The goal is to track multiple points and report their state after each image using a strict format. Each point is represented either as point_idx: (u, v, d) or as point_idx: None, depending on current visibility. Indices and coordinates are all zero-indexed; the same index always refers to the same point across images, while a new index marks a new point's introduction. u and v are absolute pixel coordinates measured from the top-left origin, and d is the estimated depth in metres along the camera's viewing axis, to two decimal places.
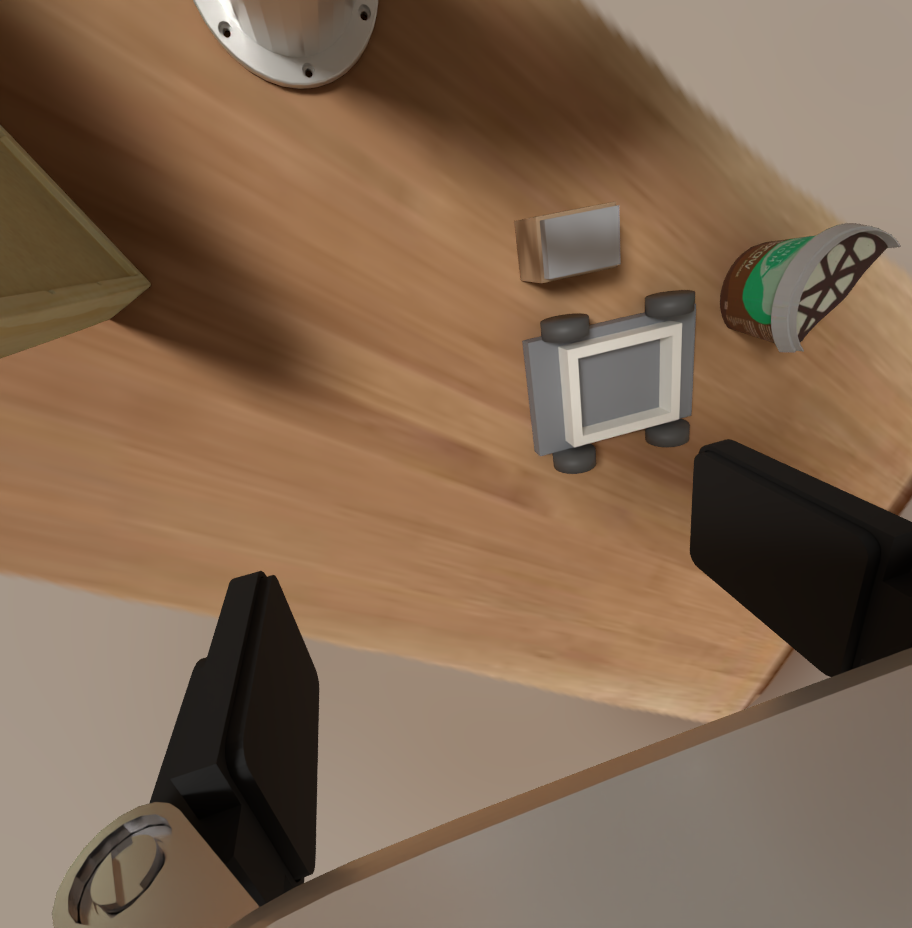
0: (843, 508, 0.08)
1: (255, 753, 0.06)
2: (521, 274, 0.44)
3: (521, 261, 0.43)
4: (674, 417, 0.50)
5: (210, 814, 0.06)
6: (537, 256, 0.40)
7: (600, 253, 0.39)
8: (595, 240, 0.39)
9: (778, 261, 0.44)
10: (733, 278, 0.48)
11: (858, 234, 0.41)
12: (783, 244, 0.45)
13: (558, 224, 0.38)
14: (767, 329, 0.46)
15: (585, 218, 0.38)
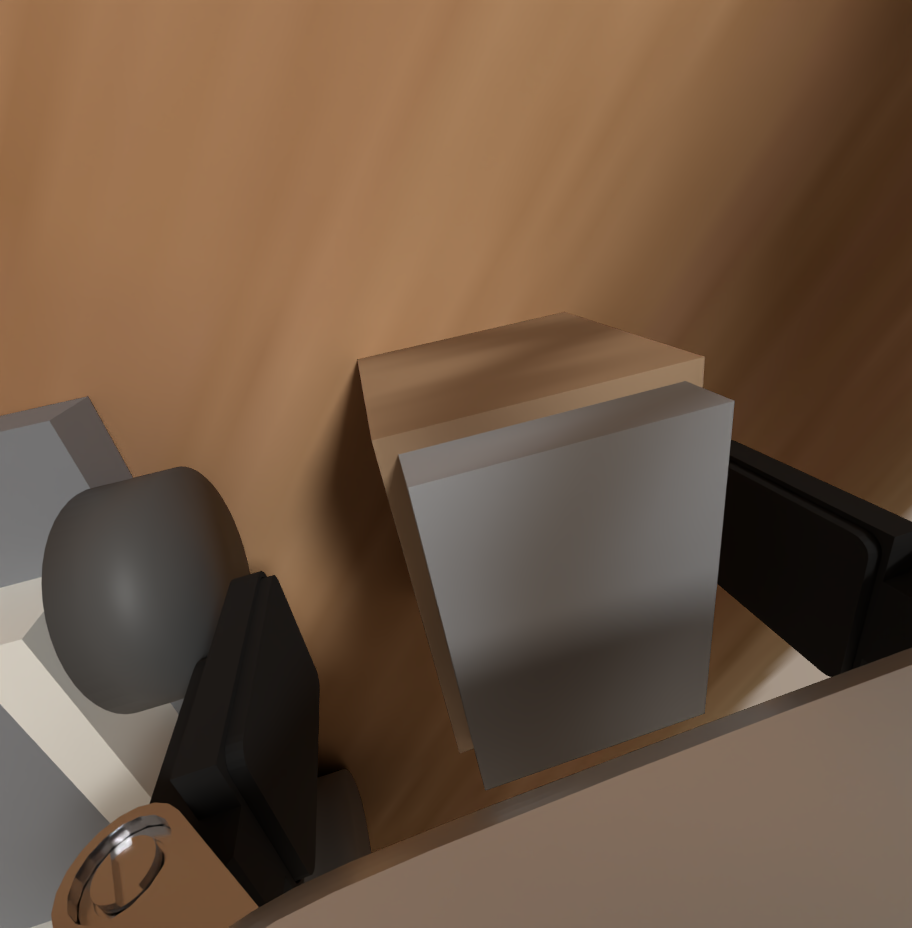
0: (843, 508, 0.08)
1: (255, 754, 0.06)
2: (382, 357, 0.11)
3: (435, 349, 0.10)
4: None
5: (209, 815, 0.06)
6: (508, 395, 0.07)
7: (534, 706, 0.08)
8: (592, 671, 0.08)
9: None
10: None
11: None
12: None
13: (694, 484, 0.07)
14: None
15: (689, 606, 0.08)
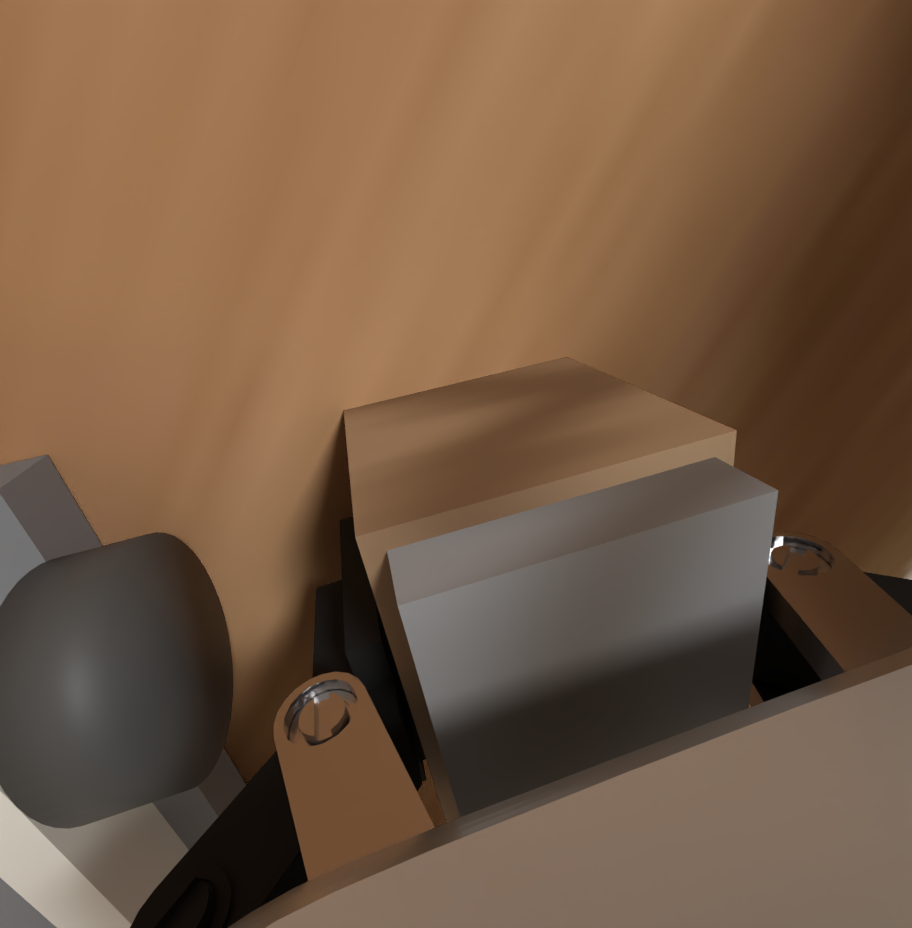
0: None
1: None
2: (370, 410, 0.10)
3: (429, 402, 0.09)
4: None
5: (370, 687, 0.07)
6: (513, 475, 0.06)
7: None
8: None
9: None
10: None
11: None
12: None
13: (730, 581, 0.06)
14: None
15: (721, 707, 0.07)
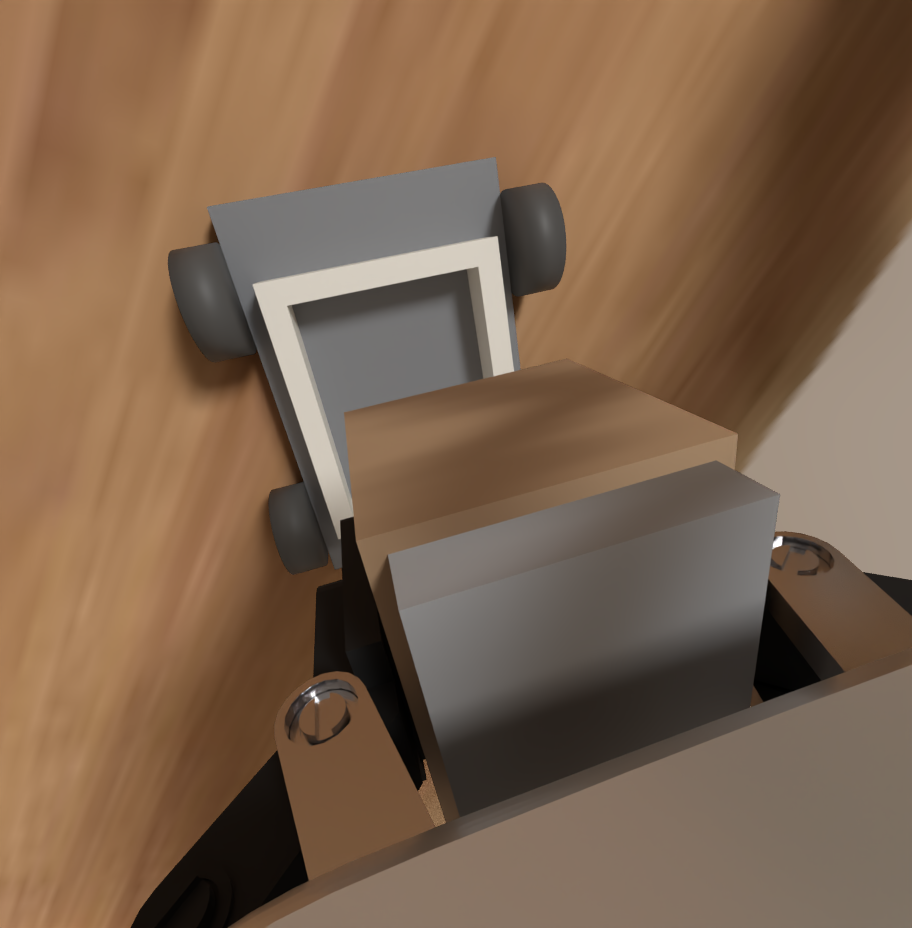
0: None
1: None
2: (371, 413, 0.10)
3: (430, 404, 0.09)
4: None
5: (370, 686, 0.07)
6: (514, 478, 0.06)
7: None
8: None
9: None
10: None
11: None
12: None
13: (731, 585, 0.06)
14: None
15: (722, 711, 0.07)
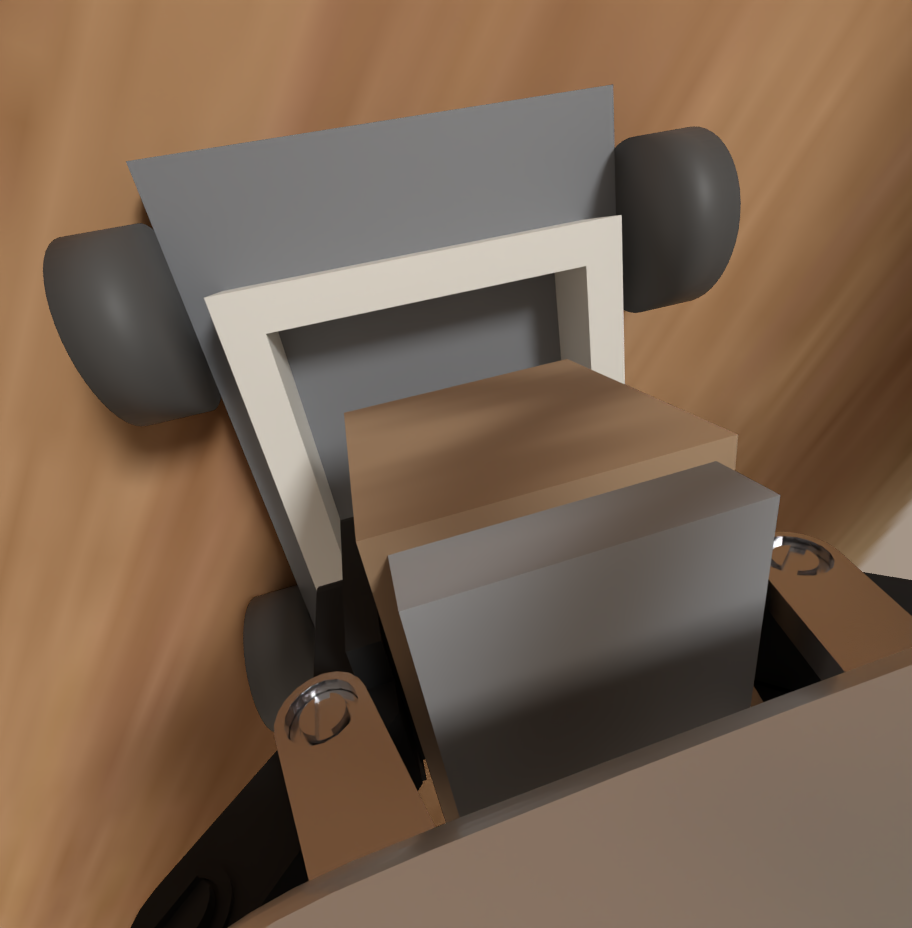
0: None
1: None
2: (371, 413, 0.10)
3: (430, 404, 0.09)
4: None
5: (370, 687, 0.07)
6: (515, 478, 0.06)
7: None
8: None
9: None
10: None
11: None
12: None
13: (732, 586, 0.06)
14: None
15: (722, 711, 0.07)
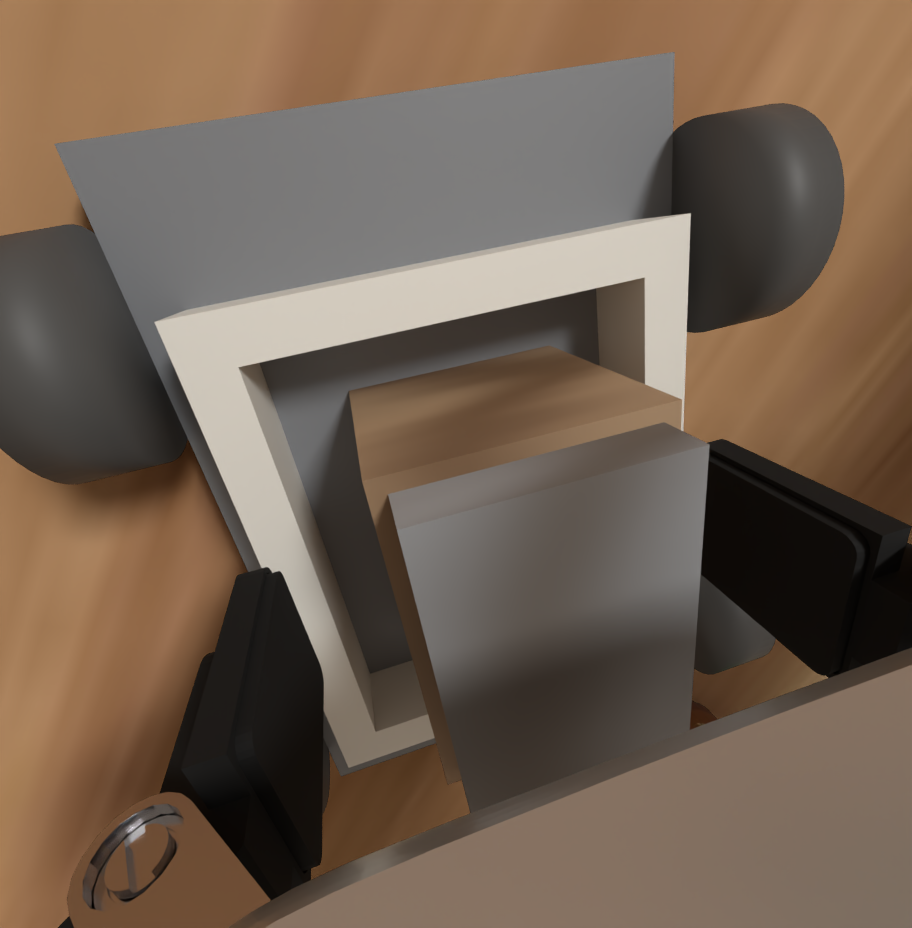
0: (833, 507, 0.08)
1: (263, 745, 0.06)
2: (373, 390, 0.11)
3: (425, 383, 0.11)
4: (353, 750, 0.13)
5: (219, 804, 0.06)
6: (494, 435, 0.07)
7: (521, 739, 0.08)
8: (577, 703, 0.08)
9: None
10: (690, 720, 0.20)
11: None
12: None
13: (673, 522, 0.07)
14: None
15: (671, 638, 0.08)
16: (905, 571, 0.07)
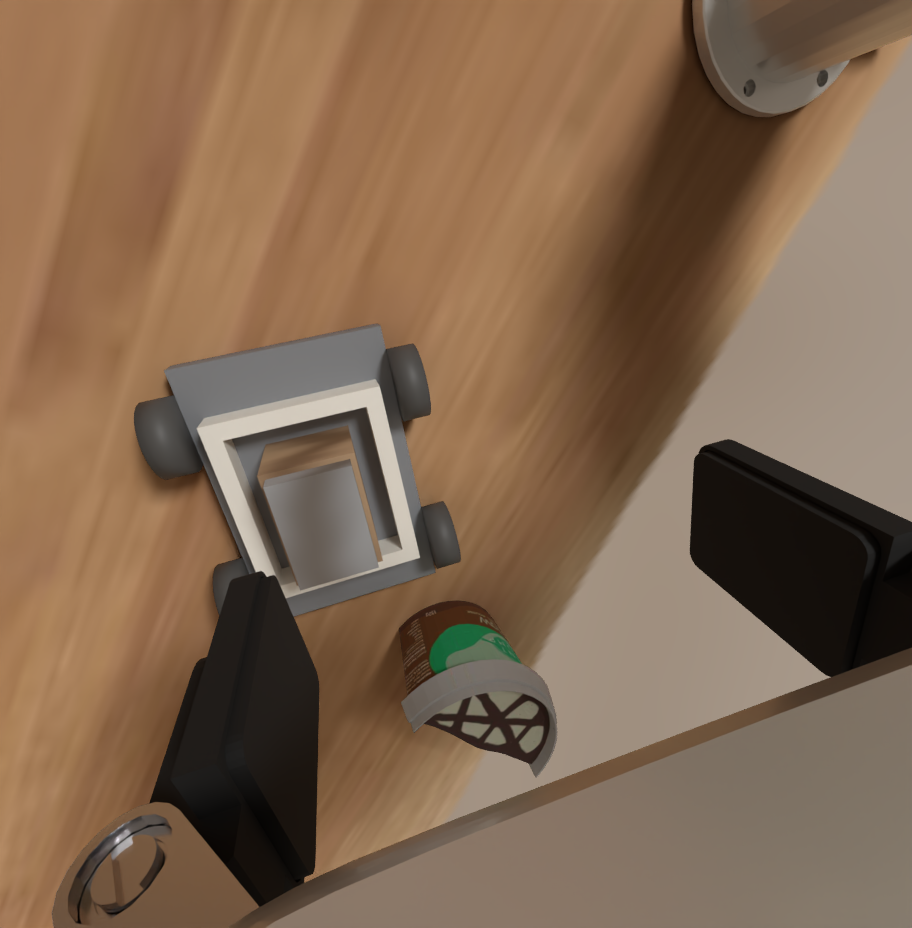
0: (843, 508, 0.08)
1: (255, 753, 0.06)
2: (274, 445, 0.29)
3: (293, 442, 0.28)
4: None
5: (210, 814, 0.06)
6: (298, 463, 0.25)
7: (312, 557, 0.26)
8: (329, 546, 0.26)
9: (502, 649, 0.34)
10: (463, 609, 0.38)
11: (547, 724, 0.33)
12: (512, 649, 0.37)
13: (346, 487, 0.25)
14: (424, 673, 0.32)
15: (358, 525, 0.26)
16: None
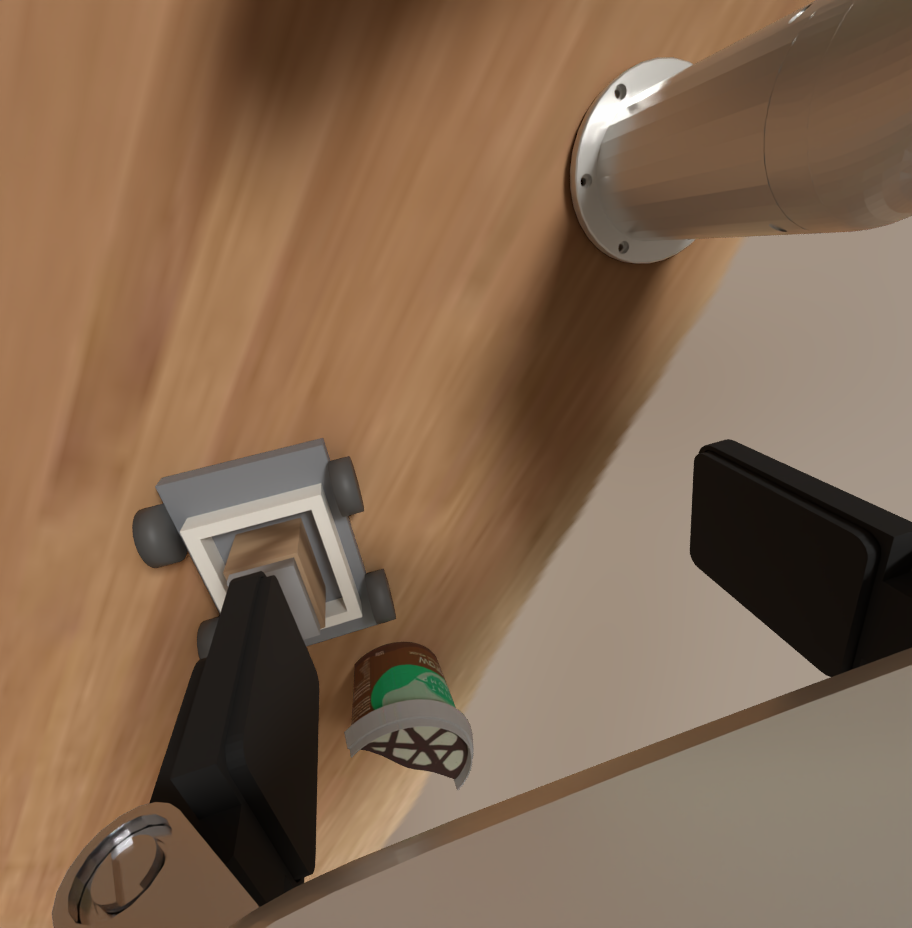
0: (843, 508, 0.08)
1: (255, 753, 0.06)
2: (241, 535, 0.37)
3: (256, 534, 0.37)
4: None
5: (210, 814, 0.06)
6: (255, 560, 0.33)
7: None
8: None
9: (432, 687, 0.43)
10: (407, 650, 0.46)
11: (465, 749, 0.42)
12: (445, 684, 0.45)
13: (290, 580, 0.33)
14: (365, 707, 0.41)
15: (301, 606, 0.34)
16: None
